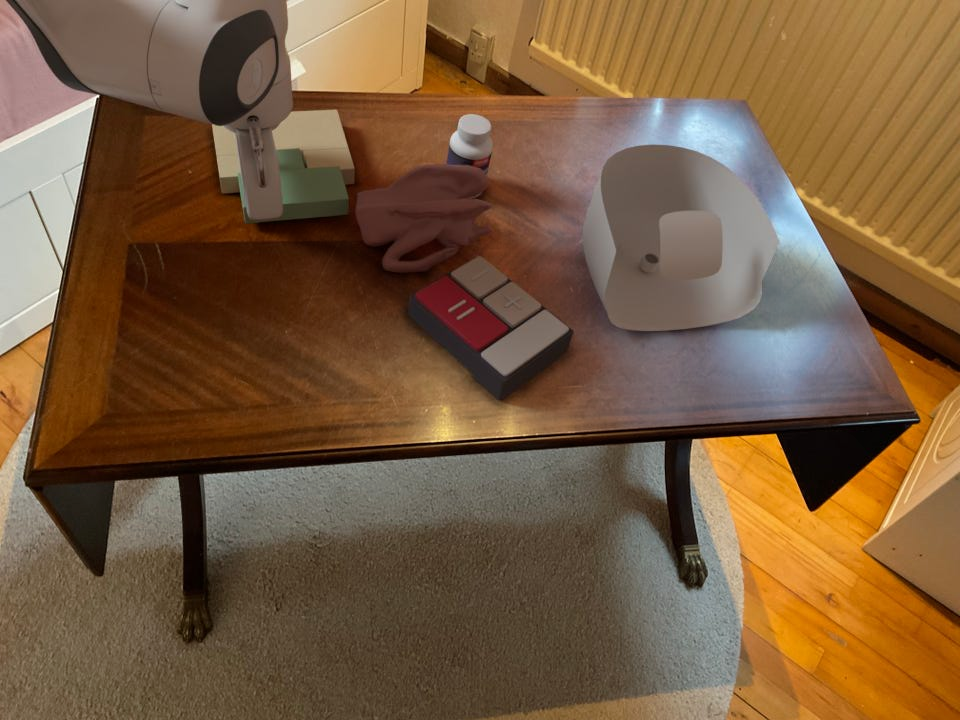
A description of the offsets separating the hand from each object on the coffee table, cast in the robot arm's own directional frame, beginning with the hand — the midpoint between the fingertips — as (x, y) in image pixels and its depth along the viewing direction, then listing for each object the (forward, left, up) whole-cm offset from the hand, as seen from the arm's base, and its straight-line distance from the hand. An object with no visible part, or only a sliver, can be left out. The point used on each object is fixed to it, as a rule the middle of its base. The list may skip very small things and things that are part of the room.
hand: (259, 193), depth 87 cm
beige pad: (+4, +9, -2) cm, 10 cm away
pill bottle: (+26, +1, -3) cm, 26 cm away
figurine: (+18, -8, -3) cm, 20 cm away
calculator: (+22, -23, -3) cm, 32 cm away
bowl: (+45, -17, -3) cm, 48 cm away
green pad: (+4, +2, -2) cm, 5 cm away
